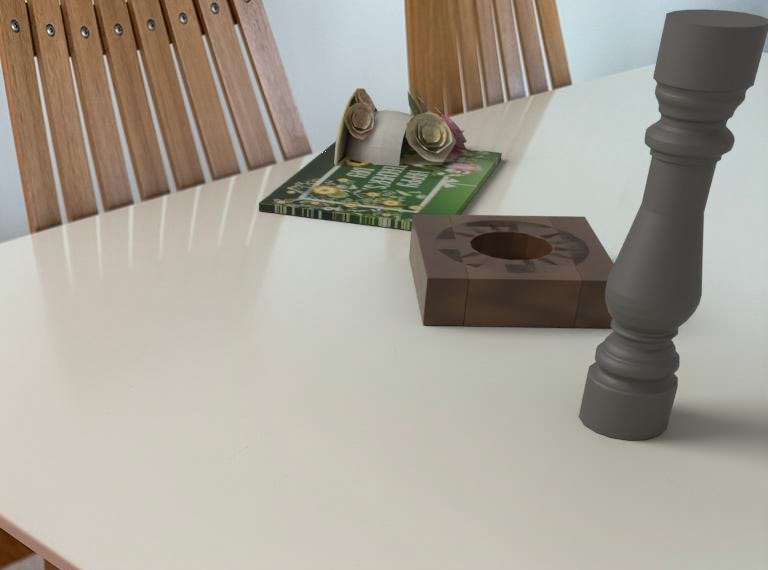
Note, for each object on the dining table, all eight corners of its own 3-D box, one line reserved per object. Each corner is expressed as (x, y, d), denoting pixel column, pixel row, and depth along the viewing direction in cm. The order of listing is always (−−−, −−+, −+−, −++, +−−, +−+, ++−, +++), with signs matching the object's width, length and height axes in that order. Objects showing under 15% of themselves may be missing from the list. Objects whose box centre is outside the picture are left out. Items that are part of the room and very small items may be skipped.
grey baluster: (613, 391, 78) (701, 5, 62) (684, 422, 74) (797, 20, 58) (560, 415, 75) (638, 15, 59) (632, 449, 71) (735, 32, 55)
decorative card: (355, 66, 128) (517, 81, 123) (352, 134, 133) (507, 150, 128) (258, 131, 105) (453, 152, 99) (258, 210, 109) (445, 234, 104)
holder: (576, 259, 99) (584, 216, 97) (614, 328, 87) (624, 281, 84) (408, 257, 99) (412, 213, 97) (422, 325, 87) (427, 278, 85)
